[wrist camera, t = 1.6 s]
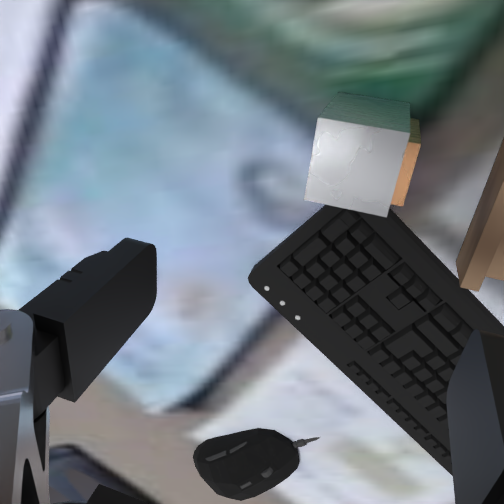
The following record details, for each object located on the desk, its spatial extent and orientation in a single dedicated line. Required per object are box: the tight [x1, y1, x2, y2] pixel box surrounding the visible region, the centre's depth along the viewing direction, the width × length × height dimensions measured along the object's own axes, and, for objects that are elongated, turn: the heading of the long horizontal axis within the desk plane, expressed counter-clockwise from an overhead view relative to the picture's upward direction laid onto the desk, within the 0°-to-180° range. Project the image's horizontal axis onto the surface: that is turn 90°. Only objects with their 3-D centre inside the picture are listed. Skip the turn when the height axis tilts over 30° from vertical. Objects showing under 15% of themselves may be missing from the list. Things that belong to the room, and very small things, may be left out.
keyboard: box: [248, 205, 504, 476], centre depth 32 cm, size 30×11×2 cm, turn 48°
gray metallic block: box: [304, 92, 421, 217], centre depth 23 cm, size 4×5×7 cm
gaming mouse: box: [193, 428, 321, 501], centre depth 42 cm, size 6×15×4 cm, turn 127°
